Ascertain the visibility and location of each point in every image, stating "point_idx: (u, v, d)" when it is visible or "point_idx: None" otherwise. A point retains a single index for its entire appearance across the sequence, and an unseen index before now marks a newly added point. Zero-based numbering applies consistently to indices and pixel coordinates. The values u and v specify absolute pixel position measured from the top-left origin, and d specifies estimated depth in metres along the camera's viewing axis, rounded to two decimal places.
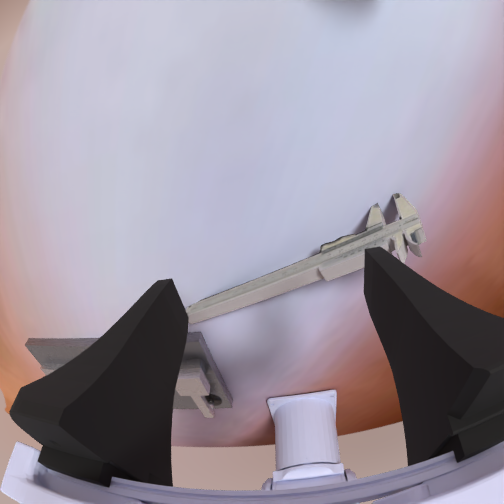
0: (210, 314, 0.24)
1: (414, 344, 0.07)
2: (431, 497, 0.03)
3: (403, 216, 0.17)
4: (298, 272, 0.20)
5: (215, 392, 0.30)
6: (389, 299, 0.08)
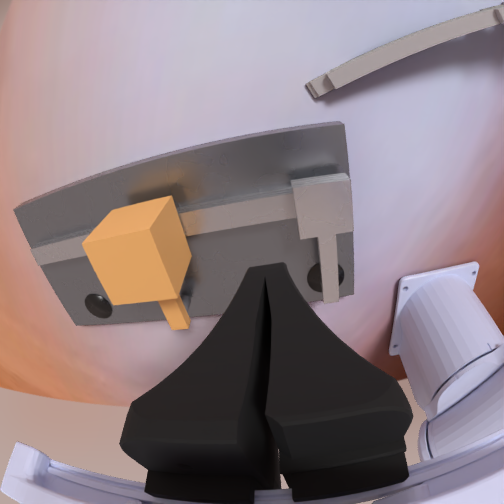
0: (373, 64, 0.13)
1: None
2: (431, 497, 0.03)
3: None
4: (475, 13, 0.09)
5: (340, 255, 0.20)
6: None
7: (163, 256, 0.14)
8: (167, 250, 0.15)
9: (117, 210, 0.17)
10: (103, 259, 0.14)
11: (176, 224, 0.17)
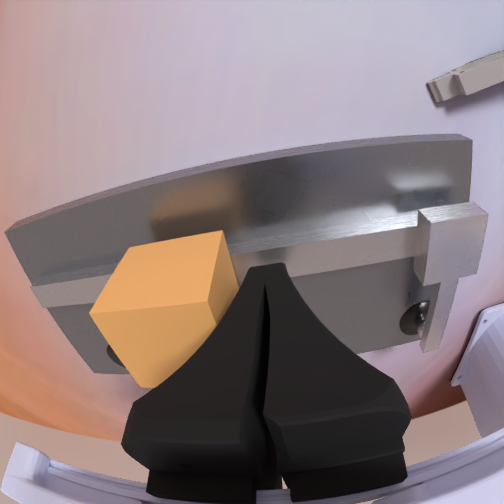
0: None
1: None
2: (431, 497, 0.03)
3: None
4: None
5: None
6: None
7: None
8: None
9: (137, 249, 0.12)
10: (125, 336, 0.09)
11: (230, 273, 0.12)
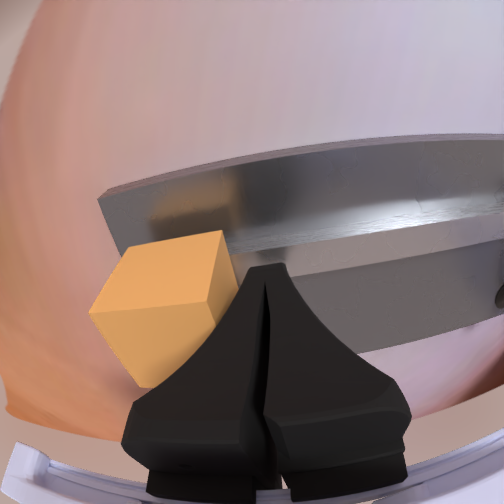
0: None
1: None
2: (431, 497, 0.03)
3: None
4: None
5: None
6: None
7: None
8: None
9: (137, 249, 0.12)
10: (124, 336, 0.09)
11: (229, 273, 0.12)
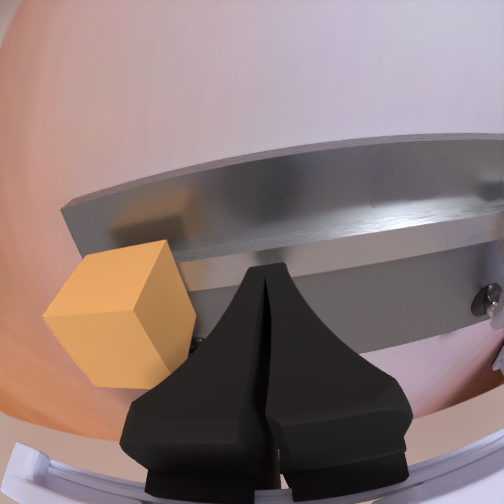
0: None
1: None
2: (431, 497, 0.03)
3: None
4: None
5: None
6: None
7: (157, 341, 0.09)
8: (163, 328, 0.10)
9: (92, 257, 0.12)
10: (73, 339, 0.09)
11: (174, 281, 0.12)
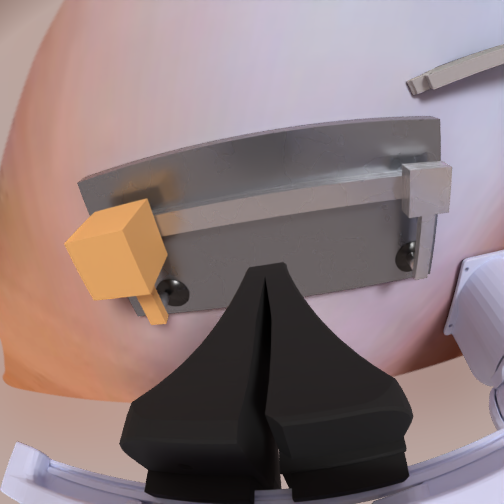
0: (462, 72, 0.13)
1: None
2: (431, 497, 0.03)
3: None
4: None
5: None
6: None
7: (136, 255, 0.15)
8: (141, 250, 0.16)
9: (98, 212, 0.17)
10: (83, 258, 0.15)
11: (151, 225, 0.17)
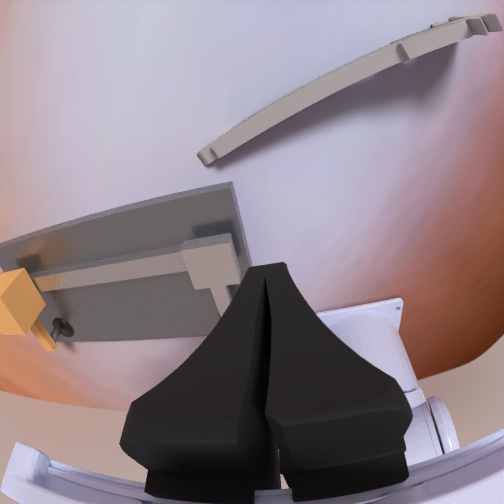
0: (251, 131, 0.16)
1: None
2: (431, 497, 0.03)
3: (469, 15, 0.10)
4: (373, 53, 0.12)
5: None
6: None
7: (12, 310, 0.18)
8: (17, 306, 0.19)
9: (2, 274, 0.21)
10: None
11: (28, 286, 0.21)
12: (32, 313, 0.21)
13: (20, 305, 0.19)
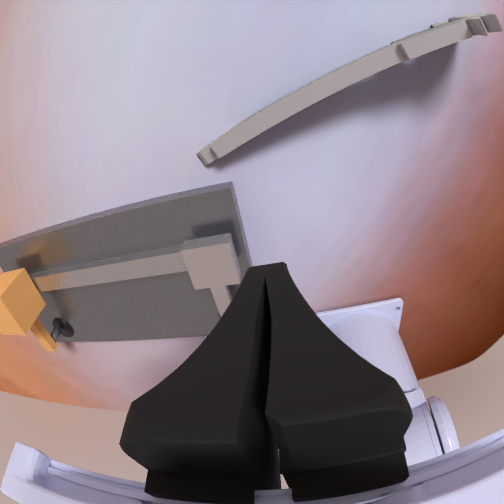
0: (251, 131, 0.16)
1: None
2: (431, 497, 0.03)
3: (469, 16, 0.10)
4: (373, 53, 0.12)
5: None
6: None
7: (12, 310, 0.18)
8: (17, 306, 0.19)
9: (2, 274, 0.21)
10: None
11: (28, 286, 0.21)
12: (32, 313, 0.21)
13: (20, 305, 0.19)
